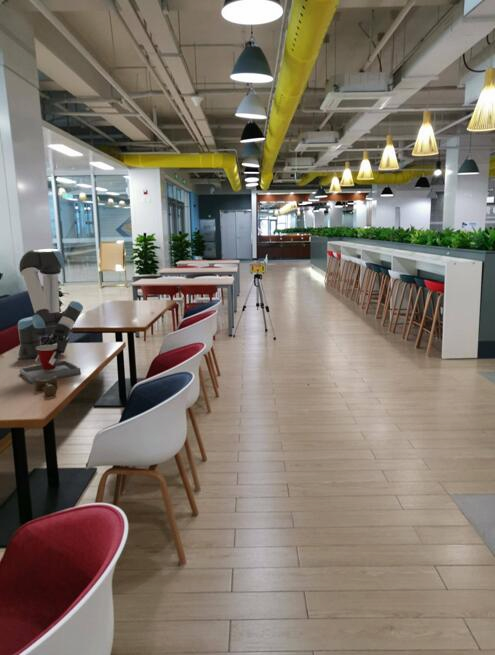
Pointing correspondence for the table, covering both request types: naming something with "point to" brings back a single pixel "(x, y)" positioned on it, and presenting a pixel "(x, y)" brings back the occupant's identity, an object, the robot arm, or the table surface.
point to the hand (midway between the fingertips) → (43, 363)
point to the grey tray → (50, 371)
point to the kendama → (47, 385)
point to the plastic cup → (46, 355)
